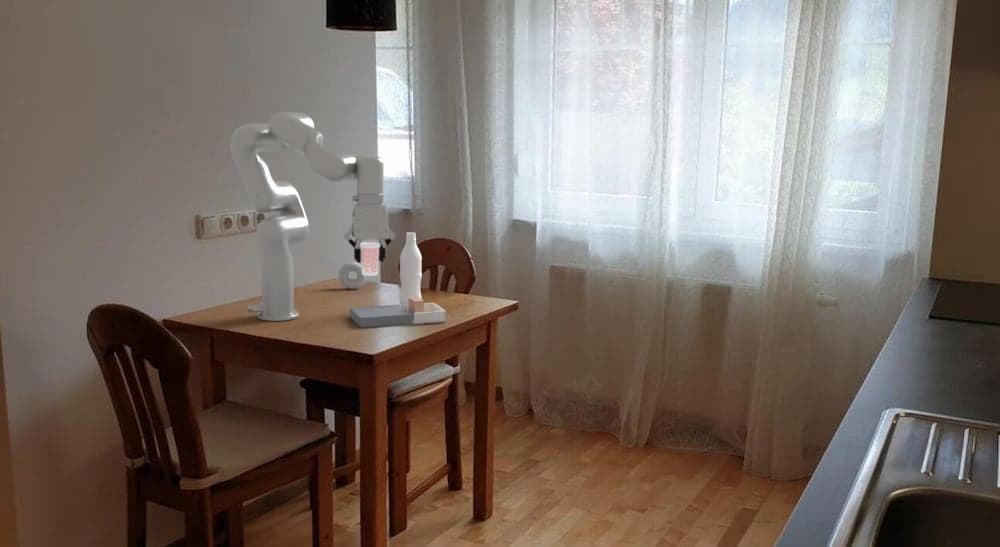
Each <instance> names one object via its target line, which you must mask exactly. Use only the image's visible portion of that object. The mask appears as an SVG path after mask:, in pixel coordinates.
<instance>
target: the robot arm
mask: <svg viewBox="0 0 1000 547" xmlns="http://www.w3.org/2000/svg"><path fill="white" fill-rule="evenodd" d="M323 145H324V135H323V134H322V132H320V131H319V130H317V129H315V124H314V121H313V120H312V117H310V116H309V115H308V114H307V113H304V112H294V111H293V112H280V113H276V114H274V115H273V116H272V117H271V118H270V120H269V122H268V123H249V124H248V123H247V124H244V125H243V124H242V125H241V126H239V127H237V128H236V129H235V131H234V132H233V134H232V136H231V140H230V152H231V155H232V158H233V161H234V163H235V165H236V167H237V169H238V171H239V173H240V175H241V178H242V182H243V183H244V188H245V190H246V193H247V196H248V198H249V202H250V204H251V206H252V208H253V209H254V211H255V212H257V213H259V214H272V213H274V214H275V213H278V214H277V215H272V216H268V217H265V218H264V219H262V220H261V221H260V222H259V223H258V226H257V228H256V235H257V241H258V246H259V250H260V264H261V265H260V267H261V268H260V270H261V298H262V299H261V300H262V301H259V302H260V303H258V304H256V305H247V306H246V312H247V313H249V312H250V313H251V312H252V313H257V318H258V319H259V320H262V321H268V322H282V321H284V322H285V321H290V320H294V319H297V318H299V317H300V313H299V312H300V311H298V310H295V301H294V298H295V297H294V296H295V295H294V262H293V261H294V260H293V255H292V254H291V251H290V249H289V246H291V245H295V244H300V243H302V242H305V241H306V240H307V239H308V237H309V234H310V224H309V220H308V218H307V217H308V216H307V214H306V211H305V209H304V206H303V203H302V200H301V197H300V194H299V193H298V190H297V189H296V188H295V186H294V185H293V184H292V183H291V182H288V181H284V180H278V181H277V180H276V181H275V180H274V178H273V176H272V174H271V171H270V167H269V165H268V164H267V162H266V161H265V160H264V159H263V157H261V156H260V154H259V153H263V152H265V153H266V152H277V151H282V150H284V149H288V148H291V149H292V150H294V152H295V151H296V153H299V155H302V156H303V158H304V161H305V163H306V164H307V166H308V167H309V168H310V170H312V171H313V172H315V173H316V174H318V175H320V176H321V177H323V178H324V179H326V180H329V181H333V182H343V181H356V193H355V195H351V201H353V202H355V204H354V206H353V210H352V217H351V218H352V219H351V226H350V227H349V229H348V230H347V231H345V233H344V234H343V235H342V237H343V238H344V239H345V241H346V242H347V243H348V244H350V245H351V246H352V247H353V249H354V250H353V254H354V255H353V257H354V261H355V262H357V263H359V264H361V249H360V247H359V246H360V244H361V243H362V241H369V240H371V241H373V240H374V241H376V240H378V243H380V247H379V261H378V262H381V263H383V262H384V260H385V259H386V248H387V247H388V246H389V245H390V243H391V242H392V241H393V240H394V239H395V238H396V237H397V233H395V231H393V230H392V229H391V228H390V227H389V226H390V224H389V215H388V208H387V207H388V206H387V205H386V203H384V160H383V157H381V156H376V155H375V156H374V155H362V154H358V153H341V154H334V153H332V152H330V151H329V150H327V149H325V147H323ZM351 236H352V237H353V238H354V240H353V239H352V238H351Z"/></svg>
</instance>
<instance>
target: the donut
mask: <svg viewBox="0 0 1000 547" xmlns="http://www.w3.org/2000/svg"><path fill="white" fill-rule="evenodd" d="M350 272H355V273H356V278H355V279H351V278H350V277H349V273H350ZM367 277H368V276H365V275H362V268H361V263H358V262H357V261H349V262H346V263H343V265H342V266H341V267H340V269H339V270H338V279H339V281H340V284H341V285H342V286H344V287H345V288H347V289H349V290H357V289H359V288H360V287H362V286H363V285H364V284H365V283H366V281H367Z"/></svg>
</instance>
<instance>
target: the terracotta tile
mask: <svg viewBox="0 0 1000 547" xmlns="http://www.w3.org/2000/svg"><path fill="white" fill-rule="evenodd" d="M424 303H425V300H423V299H420V298H419V297H409V312H410V313H411V314H412V319H413V320H414V313H420V312H424Z"/></svg>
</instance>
